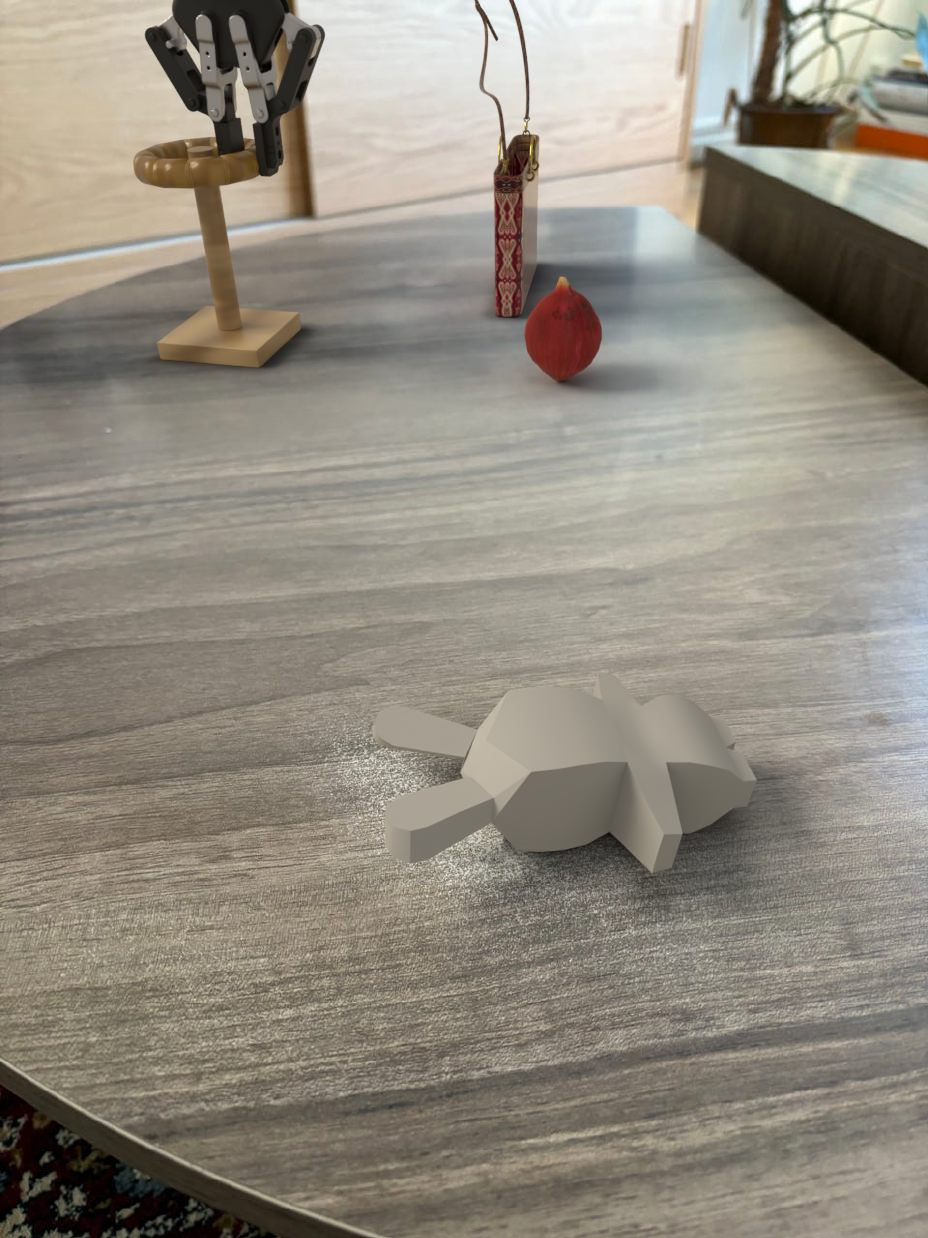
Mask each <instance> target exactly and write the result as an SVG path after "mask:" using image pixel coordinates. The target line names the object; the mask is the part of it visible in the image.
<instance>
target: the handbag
mask: <svg viewBox="0 0 928 1238" xmlns="http://www.w3.org/2000/svg"><path fill="white" fill-rule="evenodd" d="M508 2H509V5H510V7H511V9H512V13H513V15H514V19H515V23H516V27H517V31H518V36H519V42H520V46H521V47H520V48H521V54H522V60H523V61H522V62H523V69H524V77H525V78H524V79H525V115H524V117H523V122H524V123H523V124H524V125H523V126H524V130H523V131H522V134H516V135H514V136H513V137H512V139H511V140H510V143H509V144H508V146H507V142H506V132H505V123H504V122H505V121H504V116H503V109H502V105H501V103H500V101H499V99H498V98H497V97H496V96H495V95H494V94H492V93H490V92H488V91H487V90H486V89H485V86H484V85H485V83H484V82H485V75H486V69H487V60H488V53H489V52H488V51H489V30H490V32H491V35H492V37H493V39H494V40H495V42H498V41H499V37H498V35H497V33H496V32H495V29H494V27H493V24H492V23H491V20H490V19H489V17H488V15H487V13H486V12H485V11H484V9H483V8H482V6H481V3H480V1H479V0H474V7H475V10H476V12H477V13H478V14H479V16H480V18H481V21H482V24H483V30H484V48H483V49H484V51H483V59H482V65H481V66H482V67H481V69H480V70H481V71H480V76H479V83H478V87H479V90H480V92H482V93H483V94H484V95H487V96H488V97H490V98H491V99H492V100H493V101H494V103H495V106H496V108H497V113H498V118H499V126H500V127H499V128H500V136H499V138H498V149H497V165H496V167H495V168H494V171H493V174H492V176H493V221H494V223H493V226H494V228H493V229H494V231H493V232H494V314H495V315H496V316H498V317H501V318H502V317H503V318H504V317H505V318H516V317H520V316H521V315H522V313H523V312H524V308H525V304H526V301H527V298H528V295H529V291H530V288H531V285H532V282H533V279H534V276H535V273H536V270H537V266H538V210H539V209H538V206H539V205H538V204H539V169H540V163H539V162H540V135H538V134H533V133H532V134H531V132H530V131H529V130H528V127H529V122H530V120H531V118H530V73H529V61H528V54H527V48H526V47H527V46H526V41H525V34H524V29H523V24H522V21H521V17H520V14H519V13H520V12H519V10H518V7H517V5H516V3H515V0H508ZM501 153H502V154H501ZM501 155H502V157H501Z"/></svg>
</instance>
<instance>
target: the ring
mask: <svg viewBox="0 0 928 1238" xmlns="http://www.w3.org/2000/svg"><path fill="white" fill-rule="evenodd" d="M243 139H244V146H245V150H243V151H240V152H236V153H231V154H226V155H222V156H218V150H217V143H216V137H215V136H206V137H196V138H195V137H193V138H184V139H183V138H182V139H178V140H177V139H176V140H172V141H168V142H161V143H158V144H154V145H152V146H149V147H147V148H144V149H141V150H140V151H138V152H137V153H136V154H135V155H134V156H133V160H132V161H133V162H132V163H133V164H132V165H133V166H132V167H133V172H134V175H135V177H136V179H137V180H138V181H139V182H141V183H143V184H145V185H149V186H153V187H157V188H162V189H191V190H192V189H193V190H194V189H195V188H204V187H214V186H220V187H222V186H229V185H233V184H237V183H242V182H245V181H251V180H254V179H255V178H257V177H259V176H260V174H259V165H258V161H257V155H256V147H255V140H254V139H253V138H248V137H243ZM197 146H210V147H213V148H214V154H215V156H214V157H204V158H194V159H189V158H188V153H187V149H189V148H192V147H197Z"/></svg>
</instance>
